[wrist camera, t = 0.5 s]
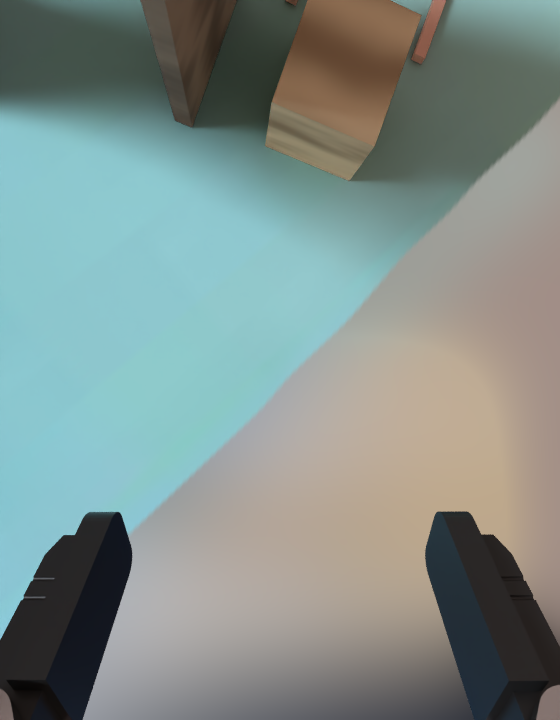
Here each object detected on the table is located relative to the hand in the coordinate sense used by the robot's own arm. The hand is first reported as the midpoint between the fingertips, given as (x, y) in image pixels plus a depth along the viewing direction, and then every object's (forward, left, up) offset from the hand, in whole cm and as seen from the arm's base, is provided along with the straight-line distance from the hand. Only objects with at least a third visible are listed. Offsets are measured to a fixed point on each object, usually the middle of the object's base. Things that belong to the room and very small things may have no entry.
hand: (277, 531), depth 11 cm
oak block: (-15, +21, -27) cm, 37 cm away
